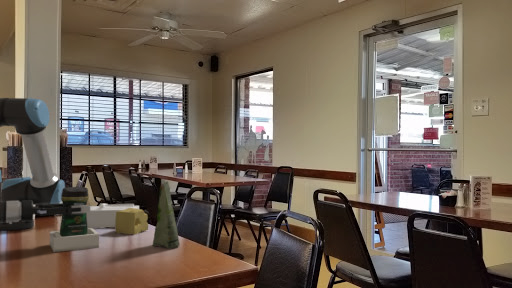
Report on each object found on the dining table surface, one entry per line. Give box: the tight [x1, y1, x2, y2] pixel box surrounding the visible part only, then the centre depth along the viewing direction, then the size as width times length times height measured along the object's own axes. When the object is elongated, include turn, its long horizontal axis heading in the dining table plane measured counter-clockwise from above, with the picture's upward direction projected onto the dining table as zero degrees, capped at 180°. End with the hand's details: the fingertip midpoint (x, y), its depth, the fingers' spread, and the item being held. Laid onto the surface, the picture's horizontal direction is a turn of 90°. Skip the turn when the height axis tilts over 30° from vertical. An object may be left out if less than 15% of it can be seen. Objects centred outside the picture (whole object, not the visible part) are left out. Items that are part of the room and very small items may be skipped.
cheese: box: [114, 208, 149, 235], centre depth 183 cm, size 10×11×10 cm
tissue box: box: [86, 203, 140, 229], centre depth 199 cm, size 14×25×11 cm, turn 100°
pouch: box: [151, 180, 180, 249], centre depth 157 cm, size 11×12×25 cm
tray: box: [49, 228, 100, 253], centre depth 155 cm, size 13×15×5 cm
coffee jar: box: [59, 186, 89, 237], centre depth 155 cm, size 10×8×19 cm
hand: (88, 207), depth 158 cm, fingers closed on coffee jar, 8 cm apart
